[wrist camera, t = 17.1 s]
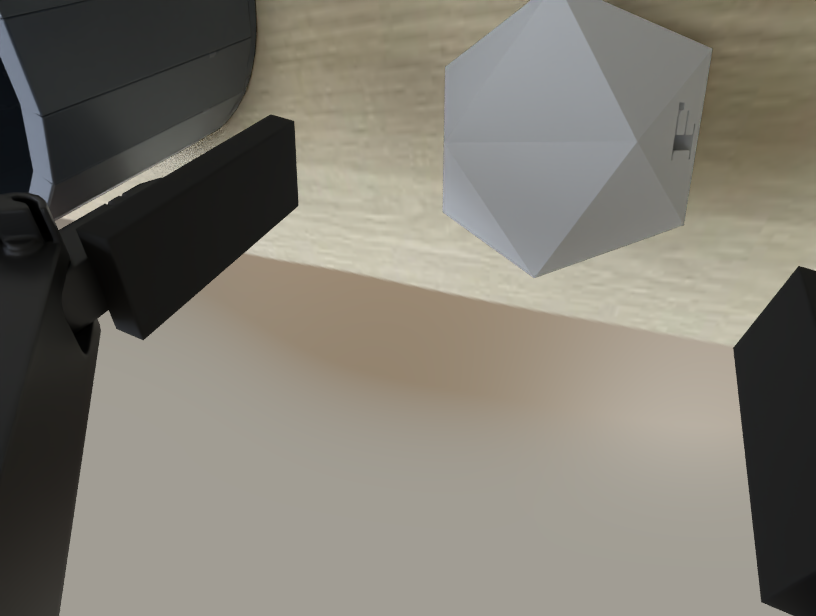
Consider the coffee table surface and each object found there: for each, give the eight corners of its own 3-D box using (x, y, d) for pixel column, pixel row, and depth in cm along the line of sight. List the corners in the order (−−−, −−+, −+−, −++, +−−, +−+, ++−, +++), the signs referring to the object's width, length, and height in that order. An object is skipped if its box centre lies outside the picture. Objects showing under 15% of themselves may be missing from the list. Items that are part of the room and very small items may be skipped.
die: (598, 235, 24) (762, 294, 15) (412, 240, 23) (460, 307, 14) (620, 36, 22) (837, -47, 12) (412, 32, 21) (470, -63, 11)
